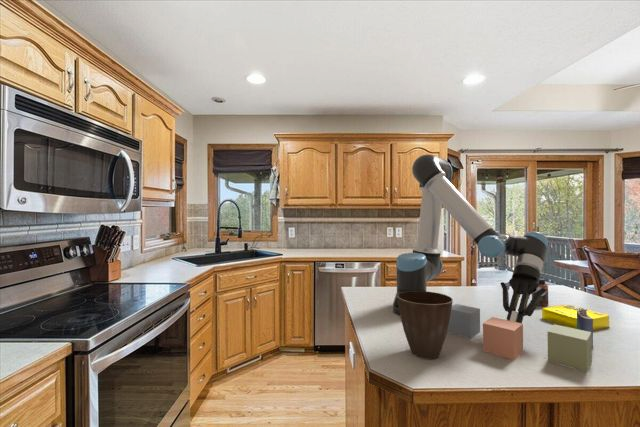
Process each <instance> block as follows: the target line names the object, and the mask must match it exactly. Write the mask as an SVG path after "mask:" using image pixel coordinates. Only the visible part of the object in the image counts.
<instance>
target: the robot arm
mask: <svg viewBox="0 0 640 427" xmlns="http://www.w3.org/2000/svg"><path fill="white" fill-rule="evenodd" d="M411 170H412V175H413V177H414V179H415V180H416V181H417V182H418V184H419V185H418V186H419V190H420V191H421V202H420V212H419V222H418V232H417V242H416V245H415V247H413V248H412V252H408V253H406V252H405V253H401V254H399V255H398V256H397V258H396V263H395V266H396V267H395V268H396V294H395V295H394V300H393V302H392V312H393V313H394V314H396V315H398V316H400V311H399V305H398V298H397V295H398V294H399V293H402V292H407V291H426V292H427V282H428V281H433V280H435V279H437V278H438V277H439V276H440V274H441V273H442V271H443V261H442V259H441V251H440V249H439V248H438V244H439V236H440V227H441V216H442V207H443V208H444V209H445V210H446V211H447V212H448V213H449V215H451V217H452V218H453V219H454V220H455V221H456V222H457V223H458V224H459V226H460V227H461V228H462V229H463V230H464V232H465V233H466V234H467V235H468V236H469V237H470V238H471V239H472V241H473V242H474V243H475V244H476V246H477V248H478V252H479V254H481V255H482V256H483V257H486V258H489V259H495V258H496V259H497V258H499V257H501V256H503V255H505V256H511V257H517V258H516V262H515V265H514V268H513V272H512V275H511V278H510V279H509V281H508V282H504V281H502V282H500V286H501V288H502V307H503V310H504V311H505V312H508V313H507V314H506V315H507V316H506V320H509V321H513V322H518V323H522V324H523V320H524V317H525V316H528V317H531V316H532V315H533V313H534V312H535V310H536V309H537V307H538V306H539V305H538V304H539V302H540V301H541V299H542V298H543V297H545V296H546V295H547V294H546V291H545V289H544V288H540V287H539V284H538V283H539V279H540V278H541V273H542V270H543V266H544V262H545V258H546V253H547V251H548V243H549V240H548V237H547V236H546V235H545V234H543V233H542V232H538V231H527V232H526V233H524V235H523V236H520V235H511V234H505V233H501V232H497V231H496V230H495V229H494V228H493V227H492V226H491V225H490V224H489V222H487V221H486V220H485V218H484V217H483V216H482V215H481V214H480V213H479V212H478V211H477V210H476V208H475V207H473V206H472V205H471V203H470V202H469V201H468V200H467V199H466V198H465V197H464V196H463V195H462V193H461V192H459V190H458V189H457V188H456V187H455V186H454V184H452V183H451V182H450V181H451V180H452V178H453V172H454V171H453V166H452V165H451V164H450V162H448V161H447V160H445V159H444V158H442V157H438V156H435V155H433V154H423V155H420V156H419V157H417V158H416V159H415V160H414V162H413V164H412V168H411ZM510 287H511V289H512V292H513V293H512V295H511V299H510V302H509V298H510V296H509V295H510V293H509V290H510ZM535 291H536V293H535V295H534V296H533V298H532V297H531V300H530V302H529V299H530V296H532V293H534V292H535ZM519 300H520V302H519ZM528 302H529V303H528ZM518 304H519V306H518ZM517 307H518V309H517Z"/></svg>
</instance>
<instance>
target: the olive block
mask: <svg viewBox="0 0 640 427" xmlns="http://www.w3.org/2000/svg"><path fill="white" fill-rule="evenodd" d="M592 350H593V349H592V339H591V332H588V331H583V330H579V329H574V328H570V327H567V326H563V325H560V324H556V323H554V324H553V325H552V326H551V327H550V328H549V329H548V330H547V362H550V363H553V364H557V365H560V366H565V367H567V368H571V369H575V370H577V371H582V372H585V373H588V371H589V369H590V367H591V365H592V362H593V361H592V360H593V358H592V357H593V356H592Z"/></svg>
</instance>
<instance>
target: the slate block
mask: <svg viewBox="0 0 640 427" xmlns="http://www.w3.org/2000/svg"><path fill="white" fill-rule="evenodd" d="M447 333H448V334H452V335H455V336H460V337H463V338H467V339H472V338H474V337H476V336H477V335H479V334H480V333H481V309H480V308H479V307H473V306H470V305H465V304H459V303H454V304H452V309H451V316H450V321H449V326H448V330H447Z"/></svg>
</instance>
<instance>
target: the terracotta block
mask: <svg viewBox="0 0 640 427" xmlns="http://www.w3.org/2000/svg"><path fill="white" fill-rule="evenodd" d="M482 351H483V352H487V353H491V354H494V355H496V356H500V357H504V358H506V359H510V360H513V361H515V360H516V359H517V358H519V356H521V354H522V353H523V352H524V323H523V322H522V323H518V322H513V321H509V320H507V319H503V318H499V317H494V316H492V317H490V318H489V319H487V320H486V321H484V322H483V323H482Z"/></svg>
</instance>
